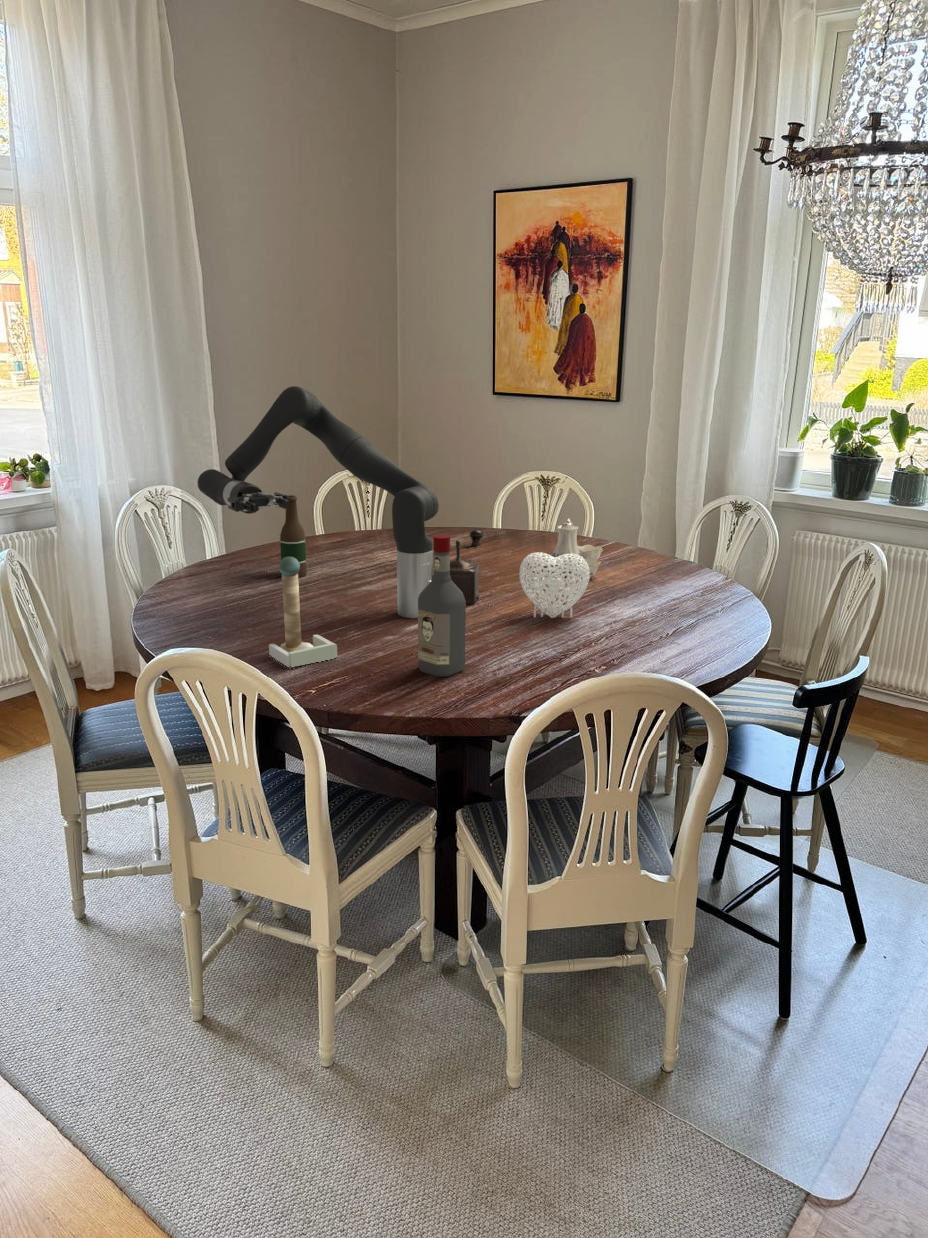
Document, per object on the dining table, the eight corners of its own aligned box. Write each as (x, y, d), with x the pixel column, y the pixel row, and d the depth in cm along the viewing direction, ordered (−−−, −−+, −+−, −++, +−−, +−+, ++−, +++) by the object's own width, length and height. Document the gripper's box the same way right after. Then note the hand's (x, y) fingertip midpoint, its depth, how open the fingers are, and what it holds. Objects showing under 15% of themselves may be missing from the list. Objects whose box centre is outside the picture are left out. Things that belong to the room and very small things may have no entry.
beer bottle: (311, 573, 284) (308, 494, 276) (300, 579, 277) (297, 499, 269) (288, 571, 286) (284, 492, 278) (276, 577, 279) (272, 497, 271)
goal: (269, 656, 214) (268, 642, 213) (317, 646, 221) (317, 632, 220) (289, 669, 206) (288, 654, 205) (338, 658, 213) (338, 643, 212)
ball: (320, 657, 213) (313, 642, 214) (314, 651, 209) (307, 637, 211) (304, 665, 213) (298, 651, 214) (298, 660, 209) (291, 645, 211)
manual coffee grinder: (476, 605, 254) (477, 540, 248) (436, 603, 255) (436, 538, 250) (483, 589, 268) (484, 528, 263) (445, 588, 270) (445, 526, 264)
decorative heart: (516, 621, 240) (518, 556, 235) (519, 609, 250) (521, 547, 245) (587, 625, 238) (590, 559, 233) (587, 612, 248) (590, 549, 243)
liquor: (439, 658, 214) (439, 529, 204) (470, 668, 208) (472, 536, 199) (412, 669, 207) (411, 536, 198) (443, 679, 201) (444, 543, 192)
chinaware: (603, 588, 277) (612, 533, 272) (547, 580, 278) (555, 526, 273) (598, 564, 304) (607, 514, 298) (547, 558, 304) (555, 507, 299)
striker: (309, 647, 220) (305, 553, 213) (303, 656, 214) (299, 560, 207) (284, 646, 220) (279, 553, 213) (277, 655, 215) (272, 559, 208)
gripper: (215, 484, 235) (242, 494, 222) (267, 479, 243) (296, 488, 230) (217, 514, 237) (244, 525, 225) (269, 507, 245) (298, 518, 233)
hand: (271, 506), depth 228 cm, fingers open, 8 cm apart
